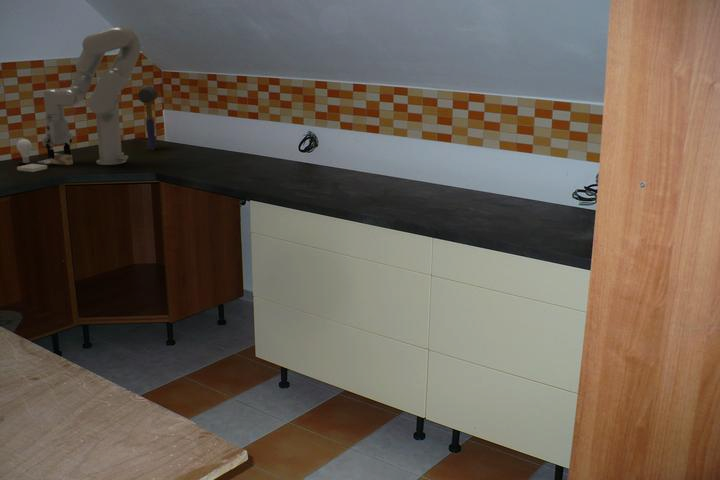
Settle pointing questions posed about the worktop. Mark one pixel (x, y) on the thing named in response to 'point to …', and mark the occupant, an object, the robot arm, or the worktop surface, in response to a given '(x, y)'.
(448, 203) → the worktop surface
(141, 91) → the rubber mallet
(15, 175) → the worktop surface
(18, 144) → the lightbulb
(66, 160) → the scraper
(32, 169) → the tile
